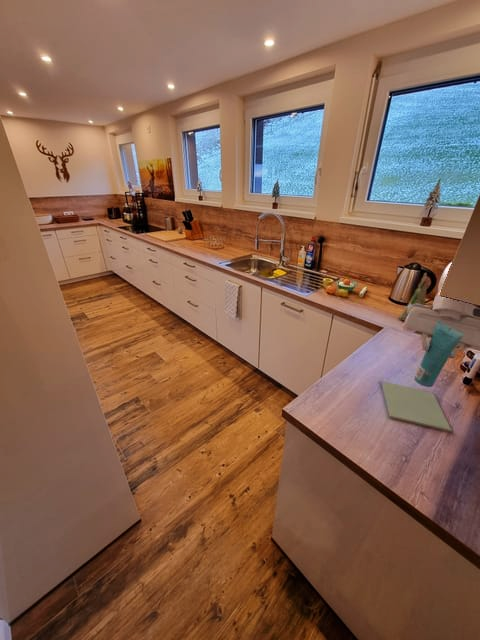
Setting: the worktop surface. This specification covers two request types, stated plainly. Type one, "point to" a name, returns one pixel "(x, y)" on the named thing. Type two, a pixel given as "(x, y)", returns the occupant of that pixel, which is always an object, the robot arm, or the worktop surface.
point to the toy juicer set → (341, 287)
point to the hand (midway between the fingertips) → (437, 353)
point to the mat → (414, 406)
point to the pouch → (417, 295)
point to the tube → (437, 354)
